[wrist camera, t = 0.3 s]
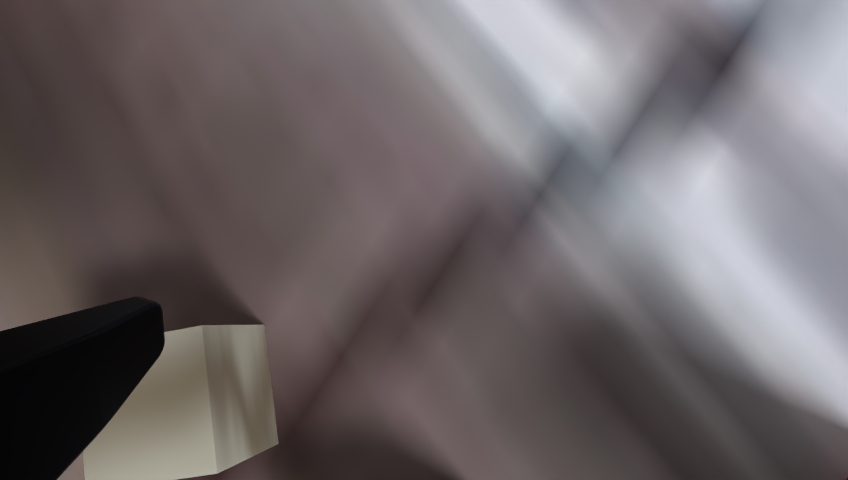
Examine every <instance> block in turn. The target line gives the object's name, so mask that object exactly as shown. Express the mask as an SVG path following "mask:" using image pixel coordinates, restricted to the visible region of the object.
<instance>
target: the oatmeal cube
mask: <svg viewBox="0 0 848 480" xmlns="http://www.w3.org/2000/svg"><path fill="white" fill-rule="evenodd" d="M164 335H165V344H164V348H163V351H162V353H161V355H160V356H159V358H158V359H157V360H156V362H155V363H154V364H153V366H152V367H151V368H150V370H149V371H148V372H147V373H146V375H145V376H144V377H143V379H142V380H141V381H140V383H139V384H138V385H137V386H136V388H135V389H134V390H133V392H132V393H131V394H130V396H129V397H128V398H127V400H126V401H125V402H124V403H123V405H122V406H121V407H120V409H119V410H118V411H117V413H116V414H115V415H114V416H113V418H112V419H111V420H110V421H109V423H108V424H107V425H106V426H105V428H104V429H103V430H102V431H101V432H100V433H99V434H98V435H97V437H96V438H95V439H94V440H93V441H92V442H91V443H90V444H89V445H88V446H87V447H86V449H85V450H84V451H83V458H84V473H85V480H176V479H183V478H190V477H197V476H204V475H211V474H217V473H219V472H222V471H224V470H226V469H228V468H230V467H232V466H234V465H236V464H238V463H240V462H242V461H244V460H246V459H248V458H251V457H253V456H255V455H257V454H259V453H261V452H263V451H265V450H267V449H269V448H271V447H273V446H275V445H277V444H279V443H278V435H277V426H276V418H275V410H274V402H273V393H272V385H271V377H270V369H269V360H268V352H267V344H266V336H265V328H264V325H201V326H195V327H190V328H185V329H179V330H174V331H168V332H164Z"/></svg>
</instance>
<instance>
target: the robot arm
mask: <svg viewBox="0 0 848 480" xmlns="http://www.w3.org/2000/svg"><path fill="white" fill-rule="evenodd" d="M164 344H165V335H164V324H163V312H162V308H161V306H160V304H158V303H157V302H155V301H152V300H148V299H145V298H142V297H132V298H128V299H124V300H120V301H116V302H112V303H108V304H105V305H101V306H97V307H93V308H89V309H85V310H81V311H77V312H73V313H70V314H66V315H62V316H58V317H54V318H50V319H46V320H42V321H38V322H35V323H31V324H27V325H23V326H19V327H15V328H11V329H7V330H3V331H0V480H57V479H58V478H59V476H60V475H61V474H62V473H63V472H64V471H65V470H66V469H67V468H68V467H69V466H70V465H71V464H72V462H73V461H74V460H75V459H76V458H77V457H78V456H79V455H80V454H81V453H82V452H83V451H84V450H85V449H86V447H87V446H88V445H89V444H90V443H91V442H92V441H93V440H94V439H95V438H96V437H97V435H98V434H99V433H100V432H101V431H102V430H103V429H104V428H105V426H106V425H107V424H108V423H109V421H110V420H111V419H112V418H113V416H114V415H115V414H116V413H117V411H118V410H119V409H120V407H121V406H122V405H123V403H124V402H125V401H126V400H127V398H128V397H129V396H130V394H131V393H132V392H133V390H134V389H135V388H136V386H137V385H138V384H139V383H140V381H141V380H142V379H143V377H144V376H145V375H146V373H147V372H148V371H149V370H150V368H151V367H152V366H153V364H154V363H155V362H156V360H157V359H158V358H159V356H160V355H161V353H162V351H163V348H164Z"/></svg>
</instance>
